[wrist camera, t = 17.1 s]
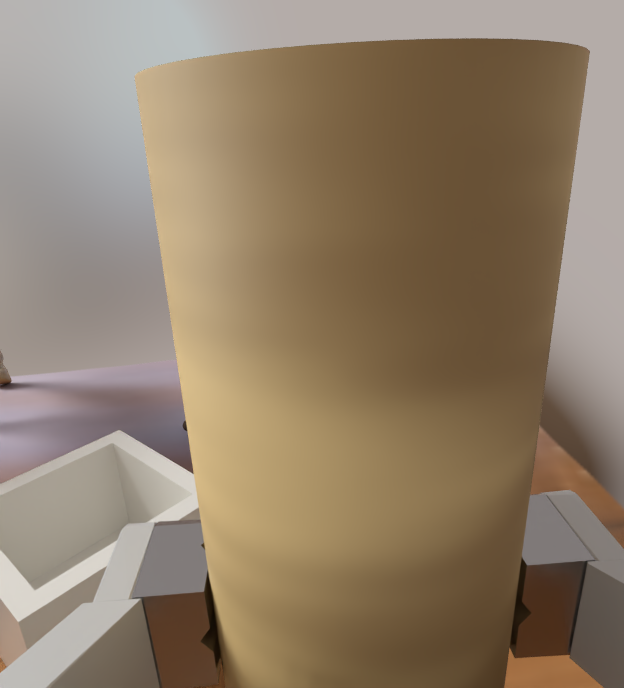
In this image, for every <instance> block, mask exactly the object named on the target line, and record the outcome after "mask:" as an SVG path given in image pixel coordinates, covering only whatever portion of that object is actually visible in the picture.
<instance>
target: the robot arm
mask: <svg viewBox="0 0 624 688" xmlns="http://www.w3.org/2000/svg"><path fill="white" fill-rule="evenodd" d="M510 649H511V651H512V653H513V655H514V657H515V658H524V657H541V656H558V655H570V659H572V660H573V661H574V662H575V663H576V664H577V665H579V666H580V667H581V668H582V669H583V670H584V671H585V672H587V673H588V674H589V675H590V676H591V677H592V678H594V679H595V680H596V681H597V682H598V683H599V684H601V685H602V686H603V687H604V688H624V549H623V548H622V546H621V545H620V544H619V543H618V542H617V541H616V539H615V538H614V537H613V536H612V535H611V534H610V532H609V531H608V530H607V529H606V528H605V527H604V525H603V524H602V523H601V522H600V521H599V520H598V518H597V517H596V516H595V515H594V514H593V512H592V511H591V510H590V509H589V508H588V507H587V505H586V504H585V503H584V502H583V501H582V500H581V498H580V497H579V496H578V495H577V494H576V493H574V492H572V491H570V490H566V491H556V492H546V493H540V494H533V495H530V499H529V506H528V513H527V521H526V528H525V536H524V543H523V550H522V558H521V565H520V573H519V580H518V588H517V595H516V602H515V610H514V617H513V625H512V632H511V640H510ZM220 664H221V653H220V646H219V640H218V633H217V626H216V619H215V613H214V606H213V599H212V593H211V586H210V579H209V572H208V566H207V559H206V552H205V546H204V539H203V532H202V525H201V519H197V520H178V521H160V522H148V523H132V524H127V525H126V526H125V527H124V528H123V529H122V530H121V532H120V535H119V537H118V540H117V542H116V545H115V547H114V550H113V552H112V555H111V557H110V560H109V562H108V565H107V567H106V570H105V572H104V575H103V578H102V580H101V583H100V585H99V588H98V590H97V593H96V595H95V598H94V600H93V602H91V603H83V604H81V605H80V606H79V607H78V608H77V609H75V610H74V611H73V612H72V613H71V614H70V615H68V616H67V617H66V618H65V619H64V620H62V621H61V622H60V623H59V624H58V625H57V626H55V627H54V628H53V629H52V630H51V631H49V632H48V633H47V634H46V635H45V636H44V637H42V638H41V639H40V640H39V641H38V642H36V643H35V644H34V645H33V646H32V647H30V648H29V649H28V650H27V651H26V652H25V653H23V654H22V655H21V656H20V657H19V658H17V659H16V660H15V661H14V662H13V663H12V664H10V665H9V666H8V667H7V668H6V669H4V670H3V671H2V672H1V673H0V688H192V687H201V686H209V685H217V684H218V682H219V673H220Z"/></svg>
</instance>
